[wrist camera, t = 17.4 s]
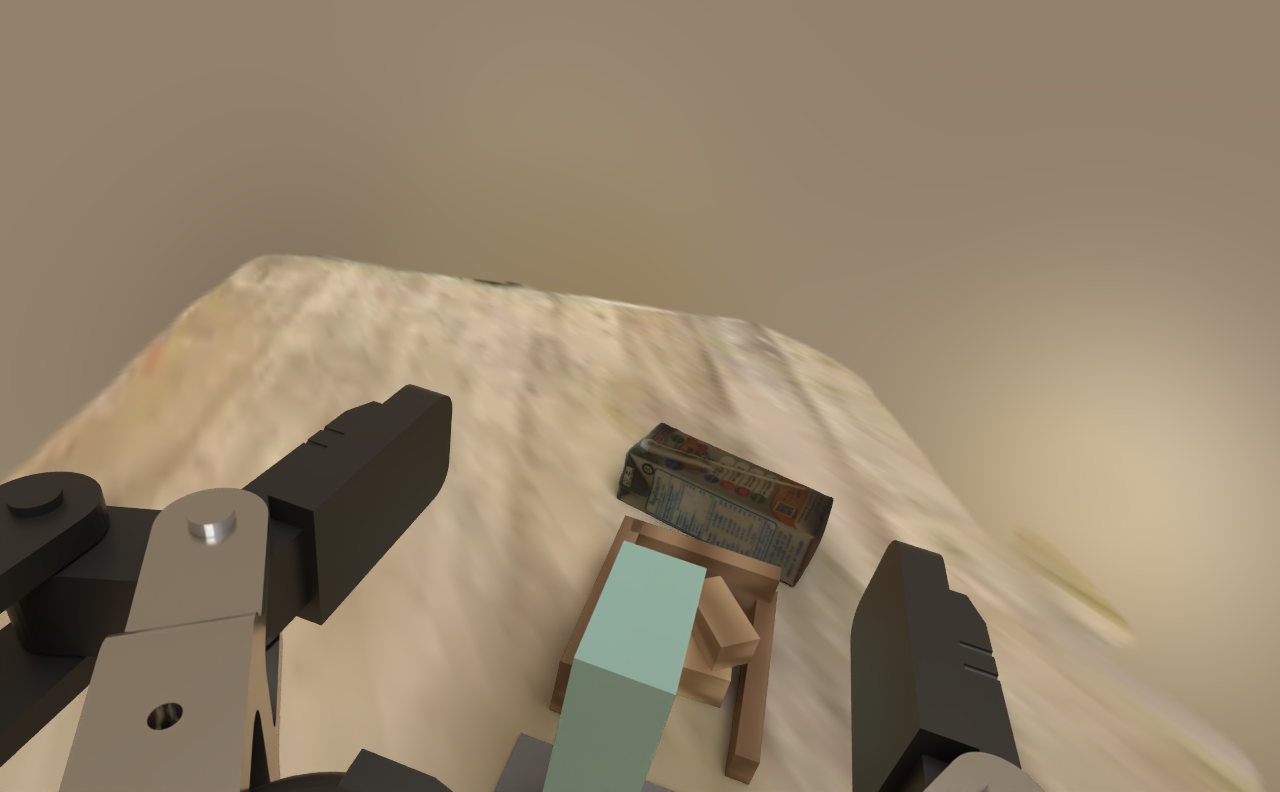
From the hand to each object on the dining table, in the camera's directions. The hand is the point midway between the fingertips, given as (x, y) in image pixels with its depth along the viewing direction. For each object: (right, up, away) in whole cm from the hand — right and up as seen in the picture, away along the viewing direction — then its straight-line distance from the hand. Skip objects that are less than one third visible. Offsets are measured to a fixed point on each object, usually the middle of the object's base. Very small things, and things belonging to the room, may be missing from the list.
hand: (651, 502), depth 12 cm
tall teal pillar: (-4, -24, +26) cm, 35 cm away
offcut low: (+4, -19, +40) cm, 44 cm away
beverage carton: (+7, -11, +55) cm, 56 cm away
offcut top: (+5, -16, +38) cm, 42 cm away
